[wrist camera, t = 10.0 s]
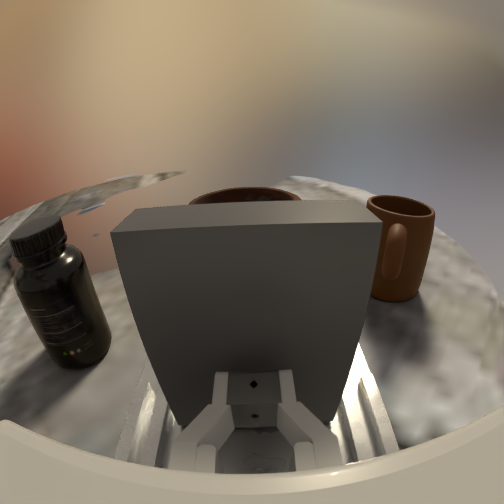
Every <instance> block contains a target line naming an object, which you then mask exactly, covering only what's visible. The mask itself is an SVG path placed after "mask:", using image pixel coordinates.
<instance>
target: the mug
mask: <svg viewBox="0 0 504 504" xmlns="http://www.w3.org/2000/svg"><path fill="white" fill-rule="evenodd" d="M366 208H367V209H368V210H370V211H371V212H372V213H373V214H374V215H375V216H376V217H378V218H379V219H380V220H381V221H382V222H383V225H382V232H381V239H380V245H379V252H378V257H377V263H376V269H375V274H374V279H373V284H372V289H371V294H370V295H371V296H373V297H375V298H377V299H380V300H383V301H388V302H401V301H406V300H408V299H410V298H412V297H413V296H414V295H415V294H416V293H417V291H418V289H419V287H420V284H421V280H422V277H423V273H424V269H425V266H426V262H427V258H428V254H429V250H430V245H431V241H432V236H433V230H434V220H435V211H434V210H433V209H432V208H431V207H430V206H428V205H426V204H424V203H422V202H419V201H416V200H413V199H409V198H405V197H399V196H389V195H380V196H373V197H370V198H369V199H368V201H367V206H366Z"/></svg>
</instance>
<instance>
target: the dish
mask: <svg viewBox="0 0 504 504" xmlns="http://www.w3.org/2000/svg"><path fill="white" fill-rule="evenodd" d="M297 200H301V199H300V198H299V197H298V196H297V195H295V194H292V193H290V192H287V191H284V190H280V189H275V188H268V187H239V188H230V189H224V190H219V191H215V192H211V193H208V194H205V195H202V196H200V197H198V198H196V199H194V200H193V201H191V202H190V203H189V204H188V205H195V204H212V203H232V202H257V201H297Z"/></svg>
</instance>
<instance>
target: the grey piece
mask: <svg viewBox="0 0 504 504" xmlns="http://www.w3.org/2000/svg"><path fill="white" fill-rule="evenodd" d="M322 423H323V424H324V425H325V426H326V427H327V428H328V429H330V430H331V431H332V432H333V433H334V434H335V435H336V436H337V437H338V442H339V447H340V451H341V456H342V461H343V464H349V463H354V462H358V461H363V460H367V459H371V458H375V457H379V456H383V455H387V454H390V453H394V452H397V451H400V450H399V447H398V444H397V441H396V438H395V435H394V432H393V429H392V426H391V423H390V421H389V418H388V415H387V412H386V409H385V406H384V404H383V401H382V398H381V395H380V393H379V390H378V387H377V385H376V382H375V380H374V377H373V374H371V373H370V370H369V368H368V365H367V363H366V360H365V358H364V355H363V353H362V350H361V348H360V345H359V343H358V347H357V350H356V354H355V357H354V361H353V364H352V367H351V370H350V374H349V377H348V380H347V383H346V386H345V389H344V392H343V395H342V398H341V401H340V404H339V406H338V409H337V412H336V415H335V417H334V420H333V421H330V422H322ZM186 427H187V426H181V425H178V424H177V422H176V419H175V417H174V415H173V413H172V411H171V409H170V407H169V405H168V403H167V400H166V398H165V396H164V394H163V392H162V389H161V387H160V385H159V382H158V380H157V378H156V375H155V373H154V371H153V368H152V366H151V363H150V361H149V358H147V361H146V364H145V367H144V370H143V372H142V375H141V378H140V381H138V382H137V385H136V387H135V390H134V394H133V397H132V400H131V403H130V406H129V409H128V412H127V415H126V419H125V422H124V425H123V428H122V432H121V435H120V439H119V442H118V445H117V449H116V452H115V456H114V459H117V460H121V461H126V462H131V463H135V464H141V465H146V466H152V467H158V468H165V469H168V466H169V460H170V455H171V449H172V443H173V440H174V439H175V438H176V437H177V436H178V435H179V434H180V433H181V432H182V431H183V430H184V429H185V428H186ZM292 453H293V447H292V446H291V444H290V443H289V442H288V441H287V439H286V438H285V437H284V436H283V434H282V433H281V432H280V431H279V429H278V428H277V427H260V428H235V429H234V430H233V432H232V433H231V434H230V436H229V437H228V439H227V440H226V441H225V443H224V444H223V445H222V447H221V448H220V449H219V451H218V455H219V457H220V460H221V463H222V465H223V468H224V474H263V473H281V472H290V470H289V466H290V462H291V457H292Z"/></svg>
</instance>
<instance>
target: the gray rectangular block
mask: <svg viewBox="0 0 504 504" xmlns="http://www.w3.org/2000/svg"><path fill="white" fill-rule="evenodd" d="M382 225H383V222H382V221H381V220H380V219H379V218H378V217H376V216H375V215H374V214H373V213H372V212H371V211H370V210H368V209H367V208H366V207H365V206H364V205H362V204H361V203H360V202H359V201H358V200H297V201H257V202H232V203H212V204H195V205H180V206H167V207H154V208H142V209H135V210H134V211H133V212H132V213H131V214H130V215H129V216H127V217H126V218H125V219H124V220H123V221H122V222H121V223H120V224H119V225H118V226H116V227H115V228H114V229H113V230H112V231H111V232H110V234H111V238H112V243H113V247H114V251H115V255H116V259H117V263H118V266H119V270H120V274H121V277H122V281H123V284H124V288H125V291H126V295H127V298H128V301H129V304H130V307H131V310H132V314H133V317H134V320H135V322H136V325H137V328H138V331H139V334H140V337H141V340H142V342H143V345H144V348H145V350H146V353H147V355H148V358H149V361H150V363H151V366H152V368H153V371H154V373H155V375H156V378H157V380H158V382H159V385H160V387H161V389H162V392H163V394H164V396H165V398H166V400H167V403H168V405H169V407H170V409H171V411H172V413H173V415H174V417H175V419H176V422H177V424H178V425H181V426H188V425H189V424H190V423H191V422H192V421H193V420H194V419H195V418H196V417H197V416H198V415H199V414H200V413H201V412H202V410H203V409H204V408H205V407H206V406H207V405H208V404H212V398H213V388H214V379H215V373H216V372H254V371H271V370H278V371H279V370H290V369H291V370H292V374H293V381H294V387H295V394H296V401H297V402H301V403H302V404H303V405H304V406H305V407H306V408H307V409H308V410H309V411H310V412H311V413H313V414H314V415H315V416H316V417H317V418H318V419H319V420H320V421H321V422H330V421H333V420H334V417H335V415H336V412H337V409H338V406H339V404H340V401H341V398H342V395H343V392H344V389H345V386H346V383H347V380H348V377H349V374H350V370H351V367H352V364H353V361H354V357H355V354H356V350H357V347H358V343H359V339H360V336H361V332H362V328H363V324H364V320H365V316H366V312H367V307H368V303H369V298H370V294H371V289H372V284H373V279H374V274H375V269H376V263H377V257H378V252H379V245H380V239H381V232H382ZM263 427H277V426H263ZM235 428H260V427H235Z"/></svg>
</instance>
